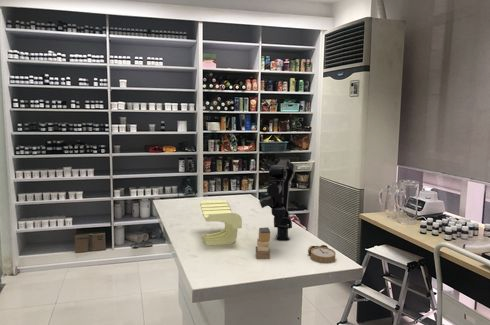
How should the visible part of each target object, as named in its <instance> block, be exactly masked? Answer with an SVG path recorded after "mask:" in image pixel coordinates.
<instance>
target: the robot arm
mask: <svg viewBox="0 0 490 325" xmlns="http://www.w3.org/2000/svg"><path fill="white" fill-rule="evenodd" d="M295 172H296V169H295V164H294V163H293V162H291V160H290V159H288V158H280V159H279V161H278V163H277V164H274V165H271V166H270V167H269V171H268V176H267V182H270V184H269V185H268V186H267V188H266V193H267V195H268V196H267V197H263V198H260V199H259V200H258V201H259V204H260V207H261V209H264V208H265V207H270V209H271V215H272V216H273V228H276V229H277V231H276V235H275V239H276V240H277V241H290V237H289V229H292V228H293V221H292V218H291V214H290V212H289V210H288V207H289V196H290V193H289V192H290V183H291V182H292V180H293V179H294V175H295Z"/></svg>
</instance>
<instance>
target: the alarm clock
mask: <svg viewBox="0 0 490 325" xmlns="http://www.w3.org/2000/svg"><path fill="white" fill-rule="evenodd" d="M307 253H308V255H309V256H310V260H312V261H313V262H315V263H318V264H330V263H334V262H335V261H337V258H336V251H335V250H334V249H333V248H329V247H328V246H327V245H326V244H321V245H310V246H309V247H308V248H307Z"/></svg>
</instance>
